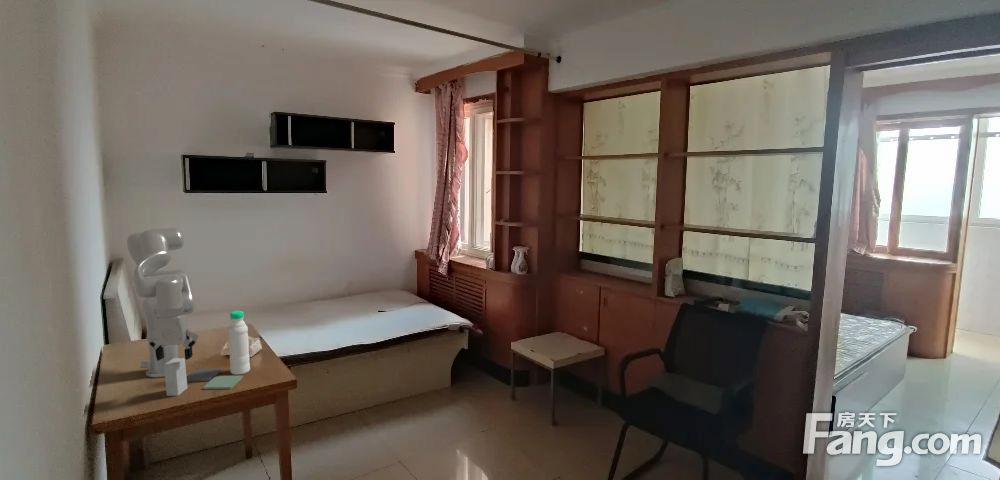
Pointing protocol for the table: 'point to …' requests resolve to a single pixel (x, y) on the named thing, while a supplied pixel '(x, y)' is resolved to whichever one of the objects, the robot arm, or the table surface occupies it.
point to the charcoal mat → (203, 374)
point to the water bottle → (238, 344)
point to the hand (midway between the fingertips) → (174, 358)
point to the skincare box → (175, 376)
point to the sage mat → (223, 382)
